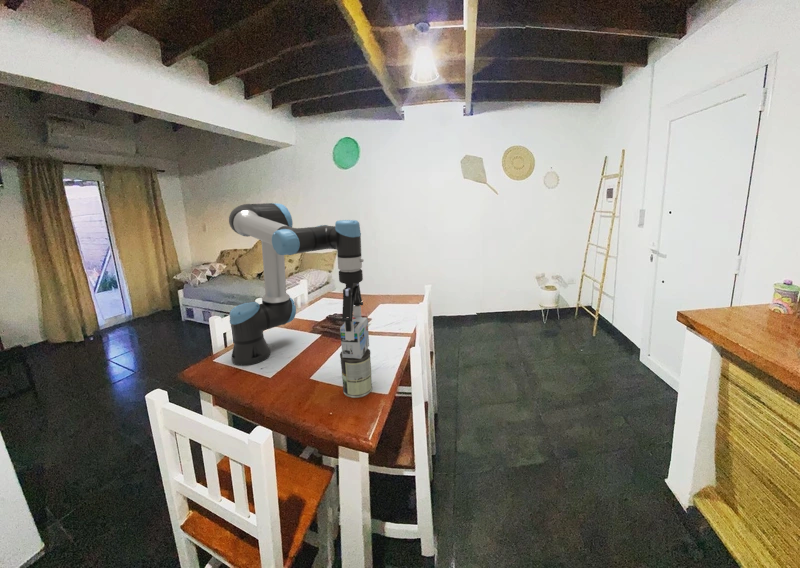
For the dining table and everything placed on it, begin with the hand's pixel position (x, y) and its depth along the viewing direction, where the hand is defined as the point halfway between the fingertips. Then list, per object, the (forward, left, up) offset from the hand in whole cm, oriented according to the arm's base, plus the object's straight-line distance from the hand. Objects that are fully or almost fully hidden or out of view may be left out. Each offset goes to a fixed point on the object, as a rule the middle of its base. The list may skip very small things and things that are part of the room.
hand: (354, 331), depth 105 cm
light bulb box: (0, 0, -8) cm, 8 cm away
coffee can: (+1, 0, -22) cm, 22 cm away
